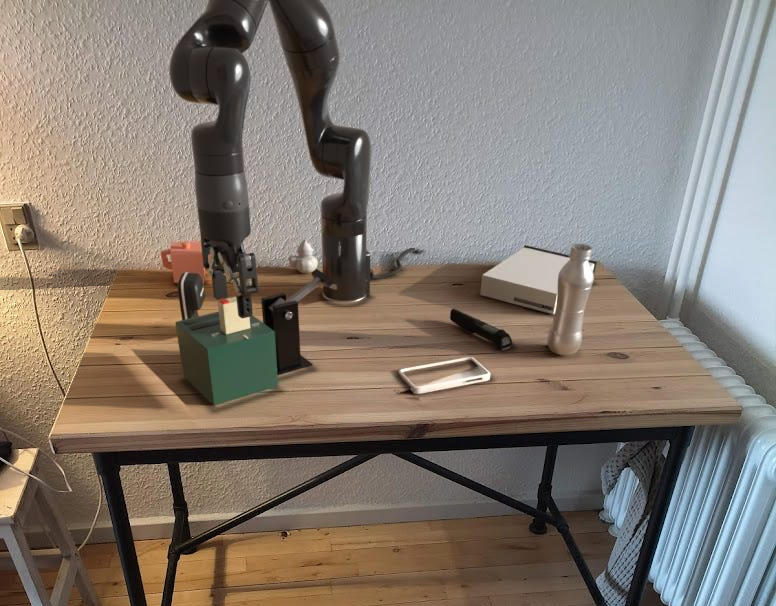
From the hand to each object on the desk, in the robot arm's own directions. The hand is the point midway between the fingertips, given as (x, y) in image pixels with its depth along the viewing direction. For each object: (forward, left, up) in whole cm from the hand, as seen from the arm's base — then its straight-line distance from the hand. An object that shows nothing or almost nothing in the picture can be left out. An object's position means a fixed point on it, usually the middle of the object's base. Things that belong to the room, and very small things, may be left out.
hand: (233, 307), depth 123 cm
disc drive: (-76, -5, -15) cm, 78 cm away
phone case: (-32, +16, -15) cm, 39 cm away
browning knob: (0, 0, -4) cm, 4 cm away
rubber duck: (-37, -41, -15) cm, 57 cm away
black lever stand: (-10, -3, -15) cm, 18 cm away
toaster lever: (-14, -3, -3) cm, 15 cm away
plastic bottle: (-58, +20, -15) cm, 63 cm away
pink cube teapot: (-14, -50, -15) cm, 54 cm away
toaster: (+1, -2, -15) cm, 15 cm away
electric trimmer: (-49, +6, -15) cm, 52 cm away
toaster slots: (+1, -5, -4) cm, 7 cm away
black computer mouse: (-3, -24, -15) cm, 28 cm away
